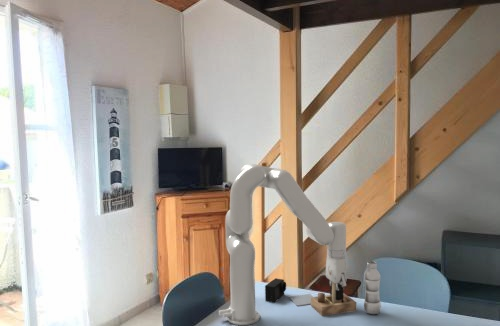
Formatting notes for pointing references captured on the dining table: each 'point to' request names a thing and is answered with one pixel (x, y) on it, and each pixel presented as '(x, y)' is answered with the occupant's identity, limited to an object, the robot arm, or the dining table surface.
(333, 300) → the handle
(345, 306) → the body
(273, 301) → the digital camera
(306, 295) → the mat
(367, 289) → the plastic bottle
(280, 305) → the dining table surface
